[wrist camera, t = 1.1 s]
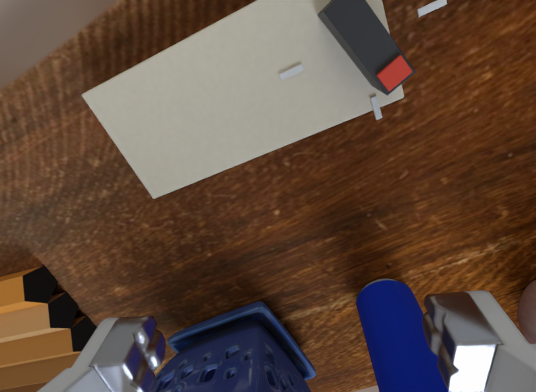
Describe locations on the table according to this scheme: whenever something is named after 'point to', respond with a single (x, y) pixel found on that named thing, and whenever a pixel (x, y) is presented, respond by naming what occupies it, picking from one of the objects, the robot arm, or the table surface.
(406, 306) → the beverage can
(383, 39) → the dark grey red-tipped block
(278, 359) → the flower pot
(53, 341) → the pan flute
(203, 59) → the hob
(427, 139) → the table surface
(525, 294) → the apple
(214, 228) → the table surface
